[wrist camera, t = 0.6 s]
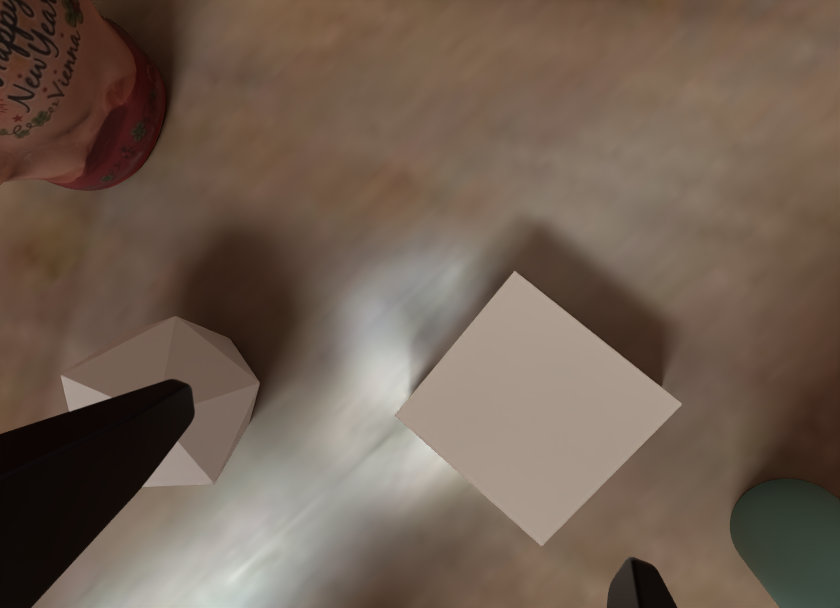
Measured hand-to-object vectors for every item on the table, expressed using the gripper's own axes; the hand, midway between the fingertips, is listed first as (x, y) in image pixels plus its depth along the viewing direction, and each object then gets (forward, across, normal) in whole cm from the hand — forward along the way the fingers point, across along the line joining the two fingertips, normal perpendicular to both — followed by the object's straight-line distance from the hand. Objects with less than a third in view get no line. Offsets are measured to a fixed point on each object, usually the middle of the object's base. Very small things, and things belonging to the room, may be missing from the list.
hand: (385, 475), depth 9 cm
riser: (+14, -3, +8) cm, 16 cm away
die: (+12, +14, +13) cm, 23 cm away
